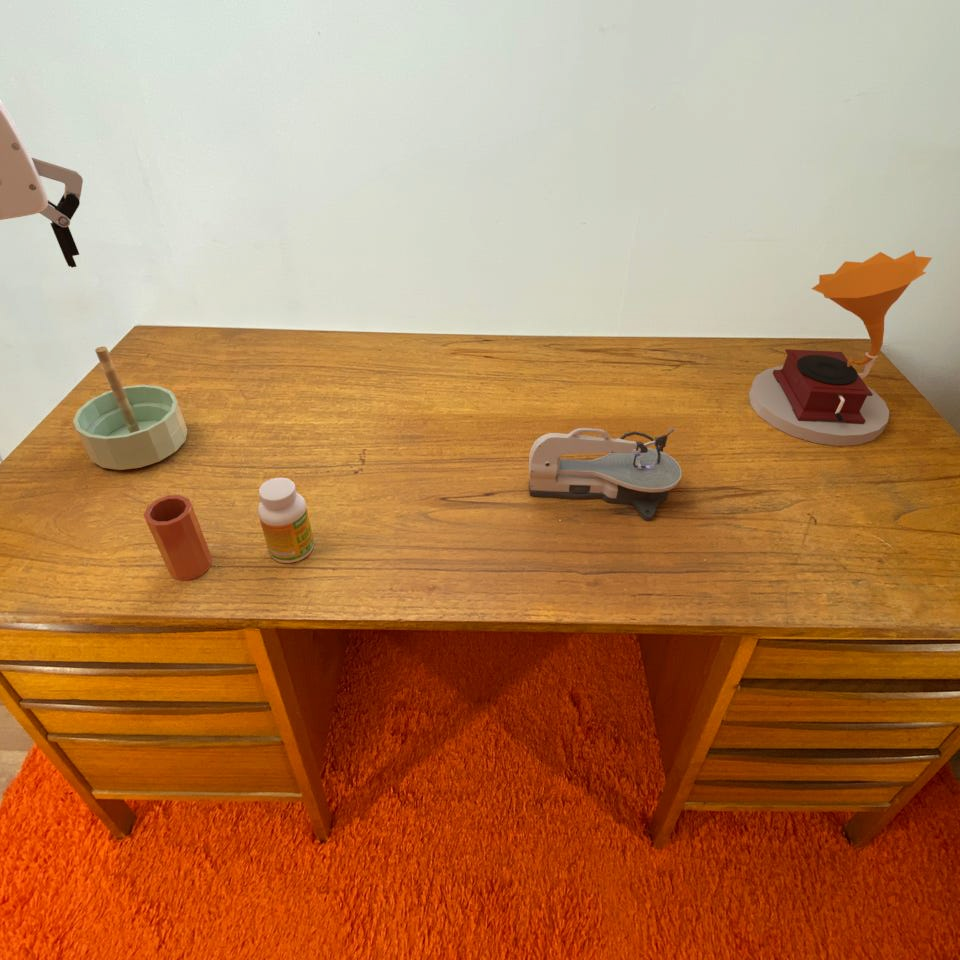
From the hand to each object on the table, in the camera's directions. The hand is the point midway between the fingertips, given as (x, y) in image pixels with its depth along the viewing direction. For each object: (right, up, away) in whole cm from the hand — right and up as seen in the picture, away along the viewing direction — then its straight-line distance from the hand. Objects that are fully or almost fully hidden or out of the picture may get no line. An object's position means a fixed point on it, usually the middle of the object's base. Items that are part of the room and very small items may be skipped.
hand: (19, 272), depth 65 cm
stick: (-2, -16, +27) cm, 32 cm away
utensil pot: (+13, -31, +10) cm, 35 cm away
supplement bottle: (+24, -30, +13) cm, 40 cm away
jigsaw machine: (+64, -23, +22) cm, 71 cm away
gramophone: (+102, -10, +38) cm, 109 cm away
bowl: (-2, -16, +28) cm, 32 cm away
